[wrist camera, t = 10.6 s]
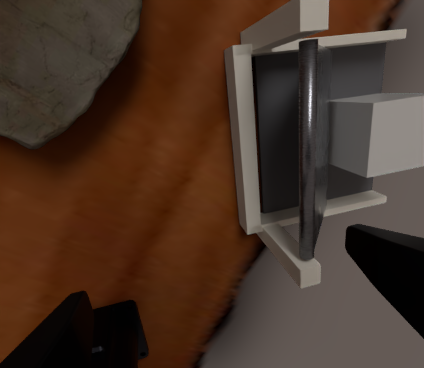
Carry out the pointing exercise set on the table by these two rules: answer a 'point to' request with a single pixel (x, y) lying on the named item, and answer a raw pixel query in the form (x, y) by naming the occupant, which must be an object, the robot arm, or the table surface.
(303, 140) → the trapdoor
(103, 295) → the table surface
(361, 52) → the frame
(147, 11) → the table surface
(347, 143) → the light grey cube
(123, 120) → the table surface
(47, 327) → the robot arm
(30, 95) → the marble piece
